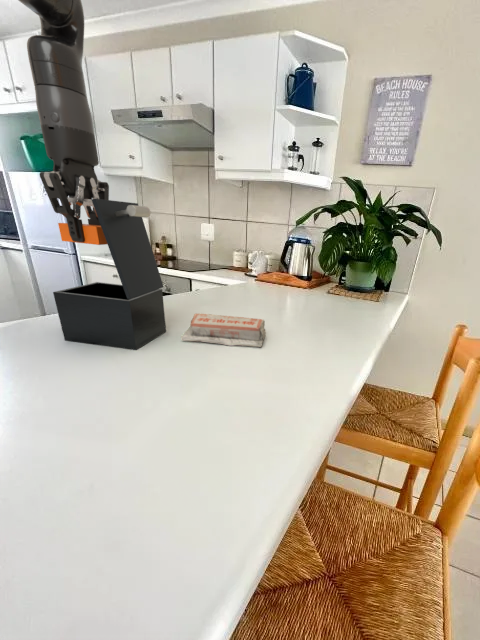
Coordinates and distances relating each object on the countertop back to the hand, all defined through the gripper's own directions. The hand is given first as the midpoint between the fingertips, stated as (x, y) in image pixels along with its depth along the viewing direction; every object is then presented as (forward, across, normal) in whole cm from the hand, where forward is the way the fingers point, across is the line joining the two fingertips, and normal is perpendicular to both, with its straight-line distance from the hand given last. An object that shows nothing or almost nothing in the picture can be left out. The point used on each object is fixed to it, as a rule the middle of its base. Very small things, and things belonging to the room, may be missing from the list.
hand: (88, 240), depth 61 cm
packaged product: (+19, -9, +24) cm, 32 cm away
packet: (0, 0, 0) cm, 0 cm away
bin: (+19, -2, +2) cm, 19 cm away
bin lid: (+1, -2, +7) cm, 8 cm away
